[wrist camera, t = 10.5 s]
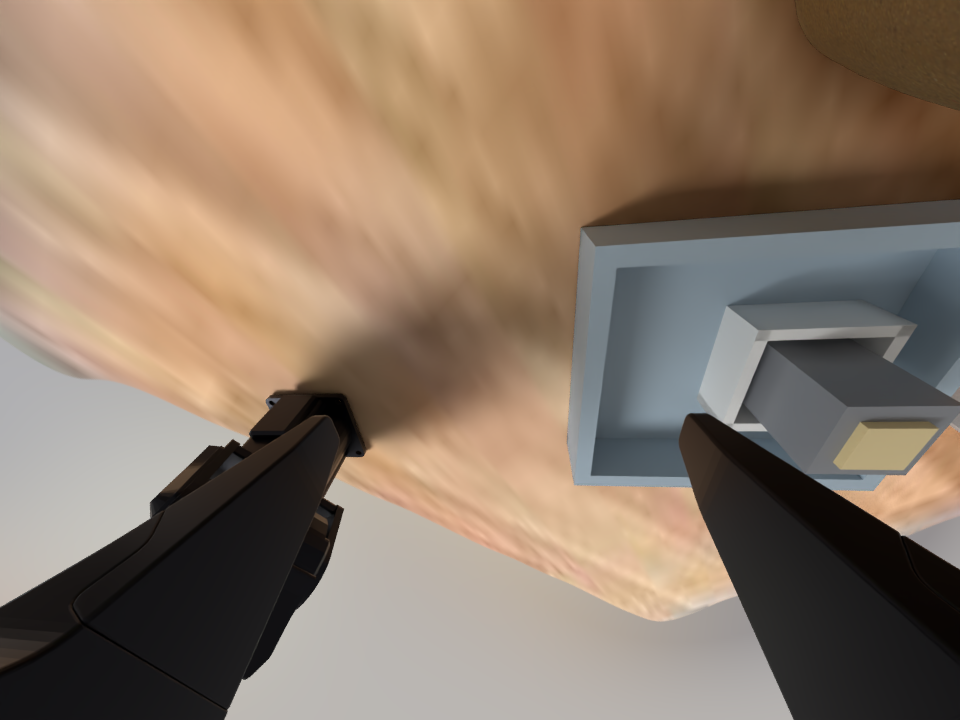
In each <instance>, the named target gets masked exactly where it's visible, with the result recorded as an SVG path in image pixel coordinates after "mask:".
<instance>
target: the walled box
mask: <svg viewBox="0 0 960 720" xmlns="http://www.w3.org/2000/svg"><path fill="white" fill-rule="evenodd" d="M846 300H863V301H866V302H868V303H870V304H872V305H875V306H877V307H879V308H881V309H883V310H886V311H888V312H890V313H892V314H895V315H897V316H899V317H901V318H904V319H906V320H908V321H910V322H912V323H915V324H917V327H916V328H915V330H914V331H913V333H912V334H911V336H910V337H909V339H908V340H907V342H906V343H905V345H904V346H903V348H902V349H901V351H900V352H899V354H898V355H897V357H896V358H895V360H894V361H893V364H895V365H896V366H898V367H900V368H902V369H903V370H905V371H907V372H909V373H910V374H912V375H914V376H915V377H917V378H919V379H921V380H922V381H924V382H926V383H927V384H929V385H931V386H933V387H934V388H936V389H938V390H939V391H941V392H943V393H945V394H946V395H948V396H950V397H951V396H952V395H953V394H954V393H955V392H956V390H957V389H958V388H959V387H960V199H956V200H943V201H930V202H916V203H903V204H889V205H876V206H863V207H849V208H836V209H822V210H809V211H796V212H782V213H769V214H755V215H742V216H729V217H715V218H702V219H688V220H675V221H662V222H648V223H635V224H621V225H608V226H595V227H581V233H580V248H579V264H578V279H577V295H576V310H575V325H574V341H573V356H572V372H571V387H570V403H569V418H568V433H567V445H568V451H569V457H570V463H571V469H572V475H573V481H574V485H591V486H645V487H692V486H691V483H690V479H689V476H688V473H687V470H686V467H685V464H684V461H683V458H682V455H681V451H680V448H679V436H680V432H681V429H682V426H683V423H684V420H685V417H686V415H687V414H689V413H706V412H705V410H704V409H703V408H702V406H701V405H700V403H699V402H698V400H697V396H698V393H699V390H700V387H701V384H702V381H703V377H704V374H705V371H706V368H707V365H708V362H709V359H710V356H711V352H712V349H713V346H714V343H715V340H716V337H717V334H718V331H719V327H720V324H721V321H722V318H723V315H724V312H725V309H726V306H732V305H755V304H778V303H800V302H823V301H846ZM737 432H739V433H740V434H742V435H744V436H745V437H747V438H748V439H750V440H752V441H753V442H755V443H756V444H758V445H760V446H761V447H763V448H765V449H766V450H768V451H769V452H771V453H773V454H774V455H776V456H777V457H779V458H781V459H782V460H784V461H785V462H787V463H789V464H790V465H792V466H793V467H795V468H797V469H798V470H800V471H801V472H803V471H802V470H801V469H800V467H799V466H798V465H797V464H796V463H795V462H794V461H793V459H792V458H791V457H790V456H789V455H788V454H787V453H786V451H785V450H784V449H783V448H782V447H781V446H780V445H779V443H778V442H777V441H776V440H775V439H774V438H773V437H772V435H771V434H770V433H769V432H768V431H737ZM803 473H804V472H803ZM806 475H808V476H809V477H811V478H813V479H814V480H816V481H818V482H819V483H821V484H822V485H824V486H826V487H827V488H829V489H830V490H857V491H874V489H875V488H876V487H877V486H878V485H879V483H880V482H881V481H882V480H883V478H884V477H885V476H886V475H851V474H806Z"/></svg>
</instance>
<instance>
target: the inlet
mask: <svg viewBox="0 0 960 720" xmlns="http://www.w3.org/2000/svg"><path fill="white" fill-rule="evenodd" d="M916 327H917V324H915V323H912V322H910V321H908V320H906V319H904V318H901V317H899V316H897V315H895V314H892V313H890V312H888V311H886V310H883V309H881V308H879V307H877V306H875V305H872V304H870V303H868V302H866V301H863V300H846V301H823V302H800V303H778V304H755V305H732V306H726V309H725V312H724V315H723V318H722V321H721V324H720V327H719V331H718V334H717V337H716V340H715V343H714V346H713V349H712V352H711V356H710V359H709V362H708V365H707V368H706V371H705V374H704V377H703V381H702V384H701V387H700V390H699V393H698V396H697V400H698V402H699V403H700V405H701V406H702V408H703V409H704V410H705V412H706V413H707V414H710V415H711V416H713V417H715V418H716V419H718V420H720V421H721V422H723V423H724V424H726V425H728V426H729V427H731V428H732V429H734V430H736V431H767V430H766V429H765V427H764V426H763V425H762V424H761V423H760V422H759V421H758V419H757V418H756V417H755V416H754V415H753V414H752V413H751V411H750V410H749V409H748V408H747V407H746V406H745V405H744V404H743V399H744V397H745V395H746V392H747V390H748V387H749V385H750V383H751V380H752V378H753V375H754V373H755V370H756V368H757V366H758V363H759V361H760V358H761V356H762V354H763V351H764V349H765V346H766V344H767V342H768V341H779V340H811V339H842V338H850V339H852V340H853V341H855V342H857V343H859V344H860V345H862V346H864V347H865V348H867V349H869V350H871V351H872V352H874V353H876V354H878V355H879V356H881V357H883V358H884V359H886V360H888V361H890V362H891V363H893V361H894V360H895V358H896V357H897V355H898V354H899V352H900V351H901V349H902V348H903V346H904V345H905V343H906V342H907V340H908V339H909V337H910V336H911V334H912V333H913V331H914V330H915V328H916Z"/></svg>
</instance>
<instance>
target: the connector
mask: <svg viewBox="0 0 960 720" xmlns="http://www.w3.org/2000/svg"><path fill="white" fill-rule="evenodd" d="M743 404H744V405H745V406H746V407H747V408H748V409H749V410H750V411H751V413H752V414H753V415H754V416H755V417H756V418H757V419H758V421H759V422H760V423H761V424H762V425H763V426H764V427H765V429H766V430H767V431H768V432H769V433H770V434H771V435H772V437H773V438H774V439H775V440H776V441H777V442H778V443H779V445H780V446H781V447H782V448H783V449H784V450H785V451H786V453H787V454H788V455H789V456H790V457H791V458H792V459H793V461H794V462H795V463H796V464H797V465H798V466H799V467H800V469H801V470H802V471H803V472H804V473H805V474H851V475H906V474H907V473H908V472H909V470H910V469H911V468H912V467H913V466H914V465H915V464H916V462H917V461H918V460H919V459H920V458H921V457H922V456H923V454H924V453H925V452H926V451H927V450H928V449H929V448H930V446H931V445H932V444H933V443H934V442H935V441H936V439H937V438H938V437H939V436H940V435H941V434H942V433H943V431H944V430H945V429H946V428H947V427H948V426H949V425H950V423H951V422H952V421H953V420H954V419H955V418H956V417H957V415H958V414H959V413H960V402H958V401H957V400H955V399H953V398H952V397H950V396H948V395H946V394H945V393H943V392H941V391H939V390H938V389H936V388H934V387H933V386H931V385H929V384H927V383H926V382H924V381H922V380H921V379H919V378H917V377H915V376H914V375H912V374H910V373H909V372H907V371H905V370H903V369H902V368H900V367H898V366H896V365H895V364H893V363H891V362H890V361H888V360H886V359H884V358H883V357H881V356H879V355H878V354H876V353H874V352H872V351H871V350H869V349H867V348H865V347H864V346H862V345H860V344H859V343H857V342H855V341H853V340H852V339H850V338H842V339H811V340H779V341H768V342H767V344H766V346H765V349H764V351H763V354H762V356H761V358H760V361H759V363H758V366H757V368H756V370H755V373H754V375H753V378H752V380H751V383H750V385H749V387H748V390H747V392H746V395H745V397H744V399H743Z"/></svg>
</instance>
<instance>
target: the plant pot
mask: <svg viewBox="0 0 960 720" xmlns="http://www.w3.org/2000/svg"><path fill="white" fill-rule="evenodd" d="M795 5H796V12H797V17H798V20H799V23H800V26H801V28H802V30H803V32H804V34H805V36H806V37H807V39H808V40H809V42H810V43H811V44H812V45H813V46H814V47H815V48H816V49H817V50H818V51H819V52H820V53H822V54H823V55H825V56H827V57H828V58H830V59H831V60H833V61H835V62H837V63H839V64H841V65H842V66H844V67H846V68H848V69H850V70H852V71H854V72H855V73H857V74H859V75H861V76H863V77H866V78H868V79H870V80H873V81H875V82H877V83H880V84H882V85H884V86H887V87H889V88H892V89H894V90H897V91H900V92H902V93H905V94H908V95H911V96H914V97H917V98H920V99H923V100H926V101H929V102H932V103H936V104H939V105H942V106H946V107H949V108H952V109H956V110H960V0H795Z"/></svg>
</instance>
